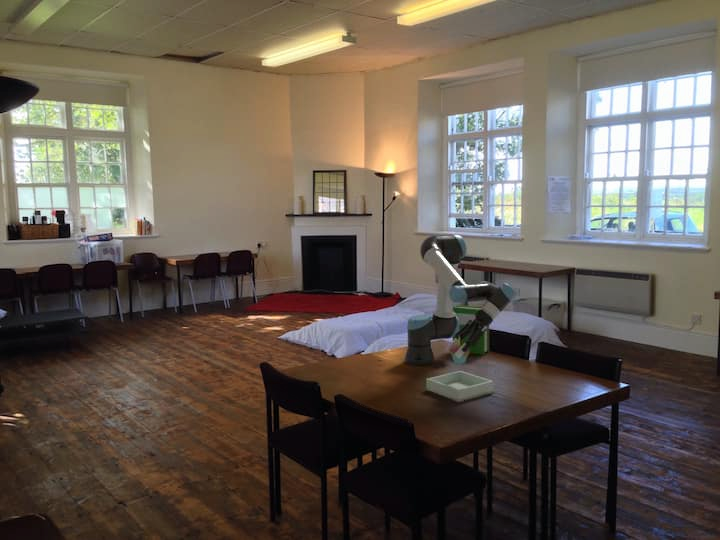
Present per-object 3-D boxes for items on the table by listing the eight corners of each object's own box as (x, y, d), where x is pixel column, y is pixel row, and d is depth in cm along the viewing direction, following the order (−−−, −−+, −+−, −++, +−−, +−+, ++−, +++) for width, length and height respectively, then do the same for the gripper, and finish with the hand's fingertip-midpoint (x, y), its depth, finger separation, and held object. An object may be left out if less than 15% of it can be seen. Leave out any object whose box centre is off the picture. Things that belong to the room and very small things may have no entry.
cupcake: (469, 364, 255) (469, 336, 254) (449, 364, 256) (449, 336, 255) (469, 359, 263) (469, 332, 262) (449, 358, 265) (449, 331, 263)
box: (426, 390, 264) (426, 378, 263) (460, 381, 275) (460, 370, 274) (458, 402, 247) (458, 390, 247) (493, 392, 259) (493, 381, 258)
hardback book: (488, 351, 327) (489, 307, 324) (484, 354, 320) (484, 309, 318) (458, 347, 336) (458, 305, 333) (452, 350, 330) (452, 307, 327)
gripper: (504, 324, 251) (468, 366, 249) (481, 315, 272) (448, 353, 270) (492, 313, 249) (456, 354, 247) (470, 304, 270) (437, 342, 268)
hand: (452, 353), depth 259 cm, fingers closed on cupcake, 9 cm apart
